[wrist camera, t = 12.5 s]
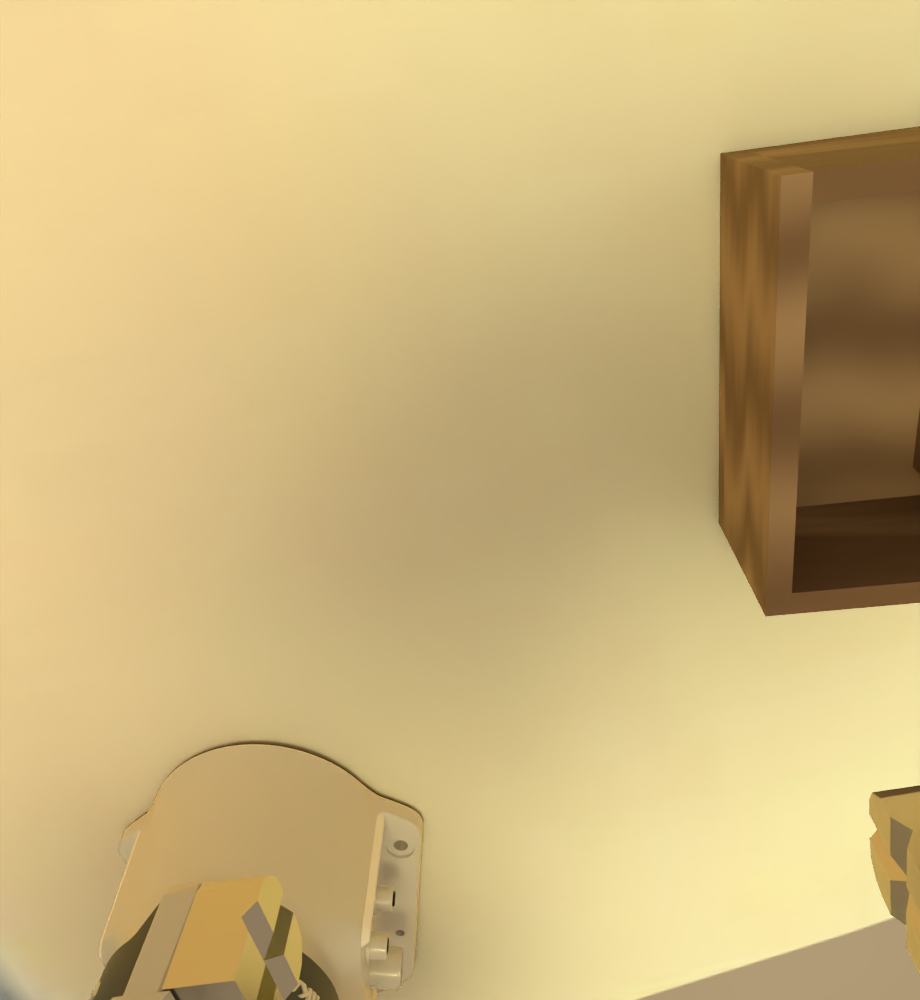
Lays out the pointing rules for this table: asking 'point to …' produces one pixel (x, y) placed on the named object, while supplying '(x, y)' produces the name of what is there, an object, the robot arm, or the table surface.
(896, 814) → the robot arm
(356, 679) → the table surface
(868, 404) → the wooden box
